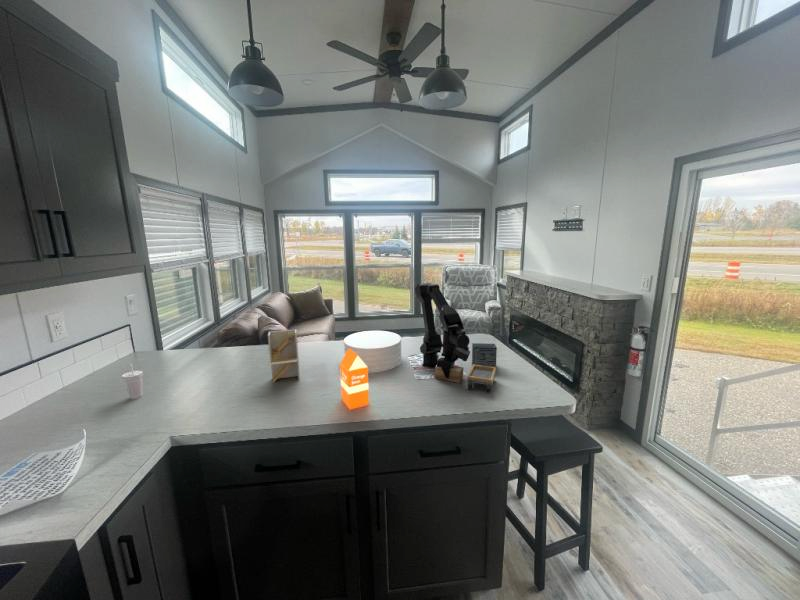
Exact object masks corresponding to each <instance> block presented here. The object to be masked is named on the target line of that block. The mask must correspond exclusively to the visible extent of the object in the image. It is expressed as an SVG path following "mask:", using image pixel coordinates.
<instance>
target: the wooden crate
mask: <svg viewBox="0 0 800 600" xmlns="http://www.w3.org/2000/svg"><path fill="white" fill-rule="evenodd" d="M267 340H268V350H269V351H268V352H269V360H270V365H271V377H272V378H271V379H272V382H273V383H276V381H277V380H278V379H284V378H285V379H286V378H294V377H297V378H298V381H300V380H301V373H300V371H301V370H300V362H299V361H300V359H299V358H300V357H299V347H298V331H297V329H288V324H285V330H276V331H275V330H274V331H268V334H267Z"/></svg>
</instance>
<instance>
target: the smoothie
mask: <svg viewBox="0 0 800 600" xmlns="http://www.w3.org/2000/svg"><path fill="white" fill-rule="evenodd" d="M129 365H130V370H131V371H129V372H126V373H123V374H122V375H121V379H122V380H123V382H124V384H125V388H126V389H127V393H128V395H129V397H130V400H137V399H140V398H142V397H143V375H144V371H142V370H134V368H133V363H132V362H131V363H129Z"/></svg>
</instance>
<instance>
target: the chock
mask: <svg viewBox="0 0 800 600" xmlns="http://www.w3.org/2000/svg"><path fill="white" fill-rule="evenodd" d="M434 379H439V380H444V381H448V382H449V381H450V382H453V383H458V384H460V383H461V382H462V380H463V379H464V367H463V366H459V365H454V366H453V367H452V369H451V370H450V375H449V378H448V379H447V378H446V377H445V375H444V373H443V371H442V369H441V367H437V366H436V367H434Z"/></svg>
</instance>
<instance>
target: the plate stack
mask: <svg viewBox="0 0 800 600" xmlns="http://www.w3.org/2000/svg"><path fill="white" fill-rule="evenodd" d="M349 348H350V349H351V350H352V351H353V352H355V353H356V354H357V355H358V356H359V357H360V359H361V360H362V361H363V362H364V363H365V365H366V366H367V367H368V373H377V372H378V373H379V372H384V371H388V370H392V369H395V368H396V366H397V367H398V366H399V365H400V364H402V336H401V335H399V334H398V333H396V332H393V331H386V330H365V331H357V332H354V333H351V334H349V335H347V336H345V338H344V339H343V354H344V356H345V354H346V353H347V351H348V349H349ZM394 367H395V368H394Z"/></svg>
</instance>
